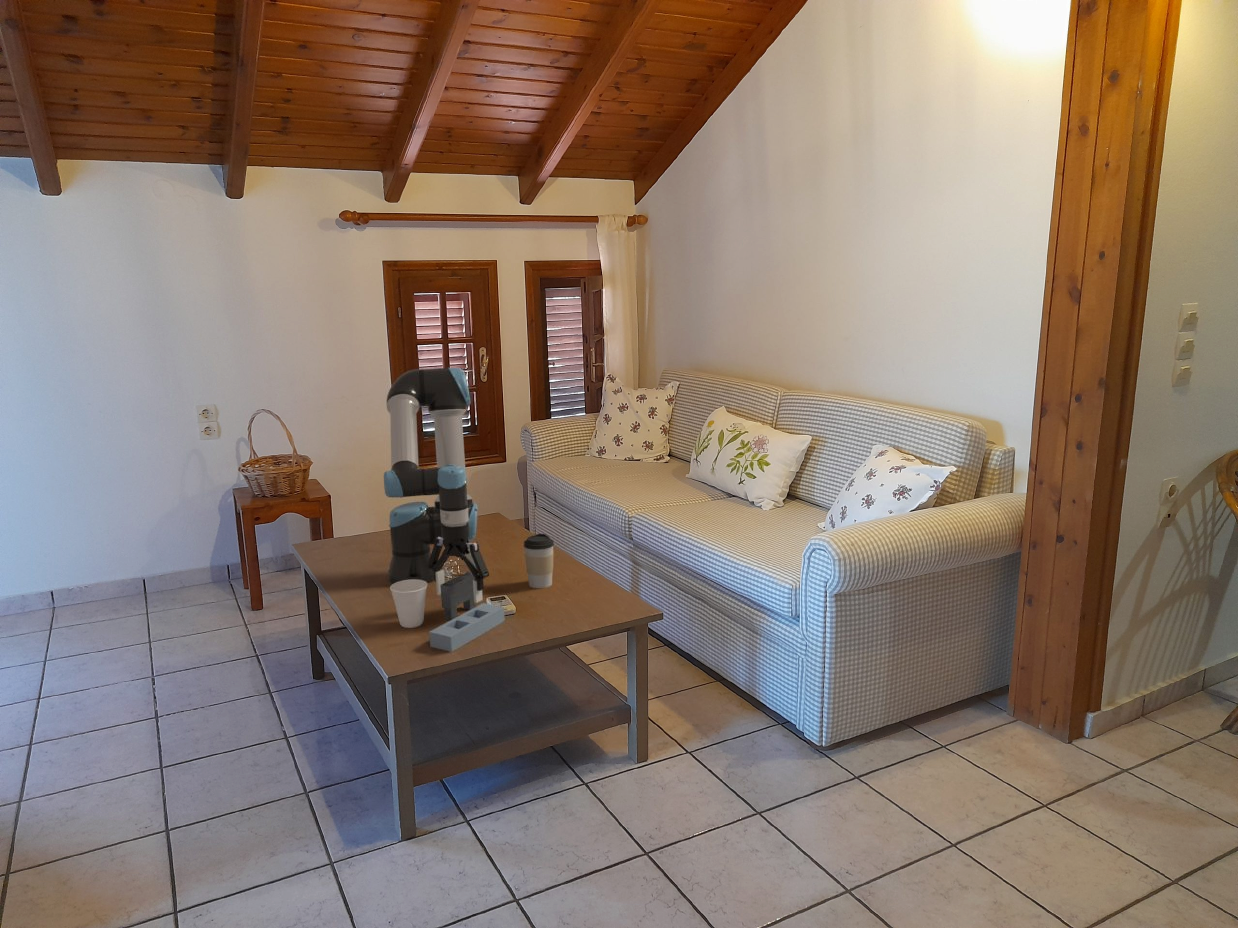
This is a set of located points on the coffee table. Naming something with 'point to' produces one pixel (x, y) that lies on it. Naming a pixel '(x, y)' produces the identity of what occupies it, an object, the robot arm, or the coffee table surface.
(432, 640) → the grey block with hole
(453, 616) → the clip
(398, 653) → the coffee table surface
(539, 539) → the coffee cup
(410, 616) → the cup
